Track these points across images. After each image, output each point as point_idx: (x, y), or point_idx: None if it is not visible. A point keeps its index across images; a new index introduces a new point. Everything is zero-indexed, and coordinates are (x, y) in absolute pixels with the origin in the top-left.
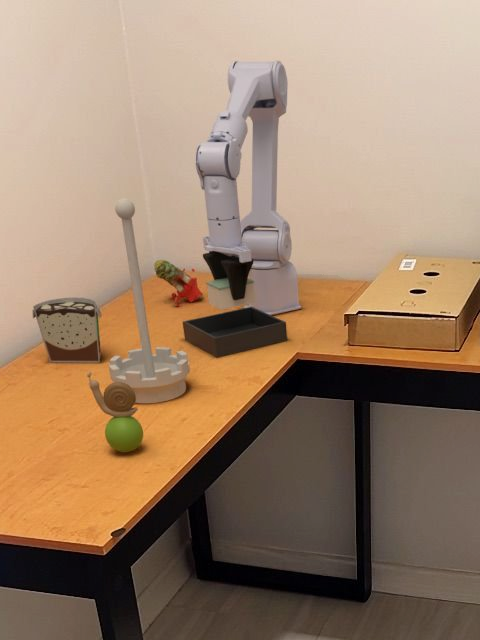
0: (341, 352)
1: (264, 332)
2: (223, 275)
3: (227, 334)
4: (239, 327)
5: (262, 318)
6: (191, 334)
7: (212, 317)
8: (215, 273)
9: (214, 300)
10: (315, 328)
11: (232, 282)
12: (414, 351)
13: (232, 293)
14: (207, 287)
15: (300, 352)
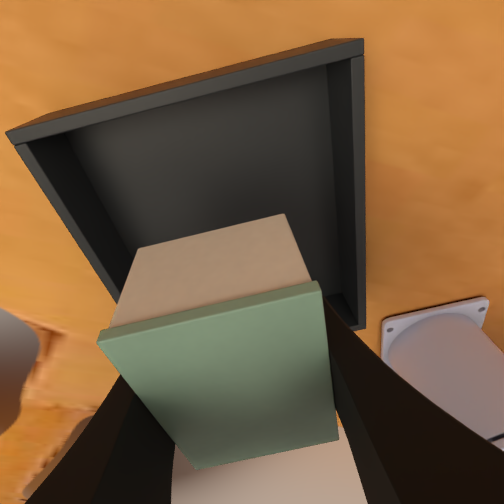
0: (45, 397)
1: None
2: (341, 402)
3: (277, 210)
4: (324, 256)
5: None
6: (262, 60)
7: (351, 198)
8: (346, 392)
9: (210, 250)
10: None
11: (83, 435)
12: (32, 469)
13: None
14: (299, 270)
15: (61, 338)
